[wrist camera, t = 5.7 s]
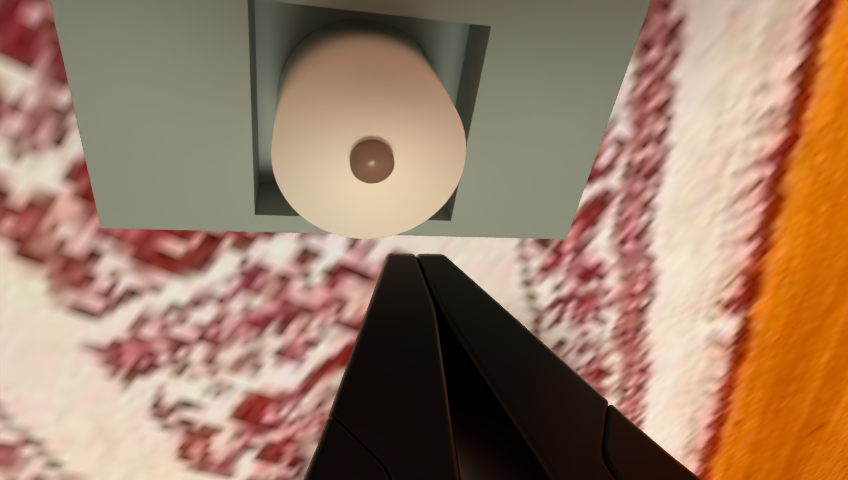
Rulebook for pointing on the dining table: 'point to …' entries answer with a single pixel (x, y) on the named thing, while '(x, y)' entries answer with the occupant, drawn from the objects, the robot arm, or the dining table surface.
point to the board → (258, 89)
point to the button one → (364, 132)
